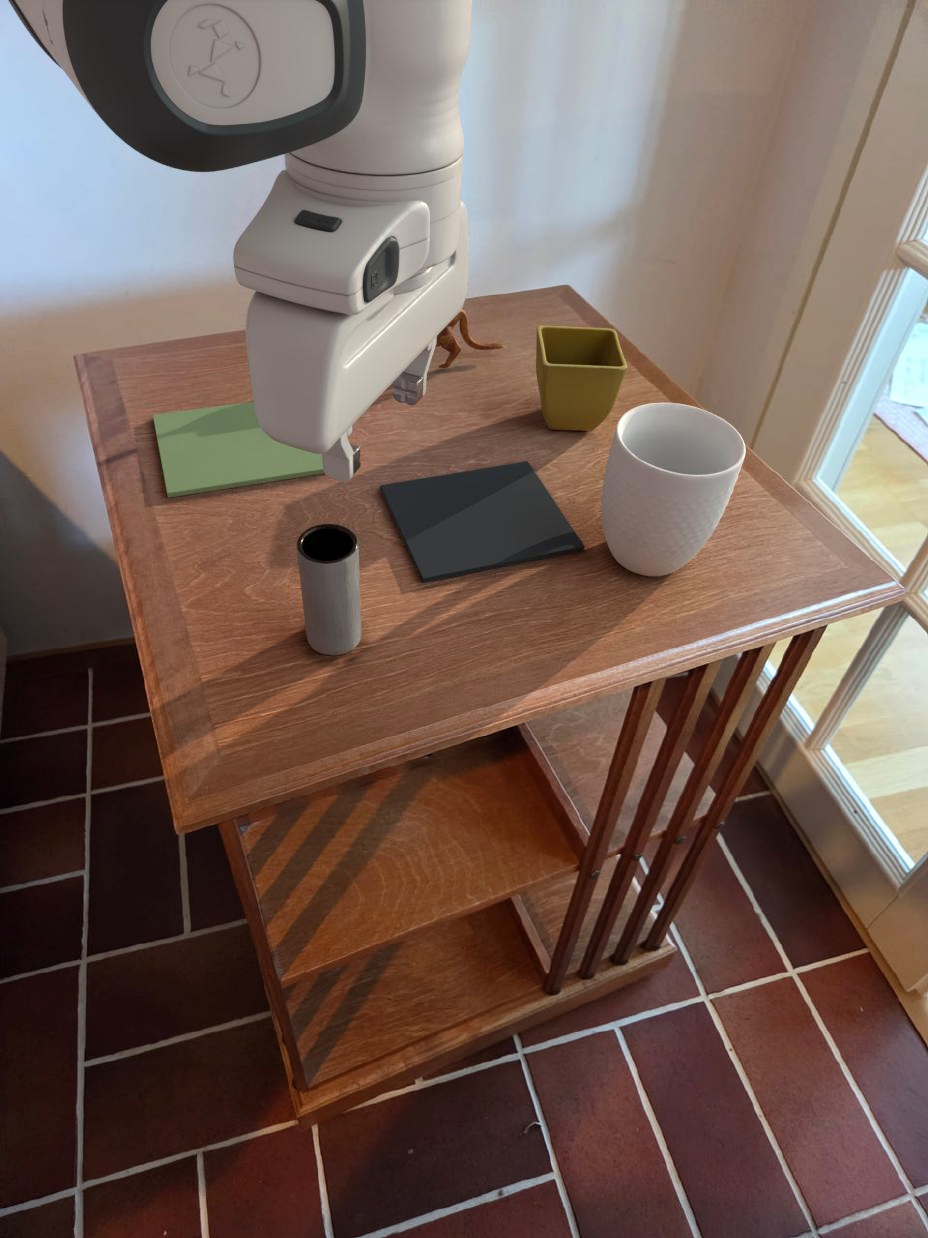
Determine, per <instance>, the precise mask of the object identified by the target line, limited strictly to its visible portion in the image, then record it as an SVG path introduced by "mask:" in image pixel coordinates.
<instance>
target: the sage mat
mask: <svg viewBox="0 0 928 1238" xmlns="http://www.w3.org/2000/svg"><path fill="white" fill-rule="evenodd" d="M152 419H153V425H154V430H155V435H156V441H157V446H158V453H159V457H160V462H161V469H162V474H163V479H164V485H165V492H166V495H167V498H168V499H170V498H177V497H183V496H188V495H195V494H201V493H202V494H203V493H208V492H214V491H221V490H228V489H233V488H240V487H246V486H252V485H258V484H259V485H260V484H266V483H271V482H278V481H285V480H292V479H298V478H305V477H310V476H318V475H322V474H324V471H323V464H322V454H316V453H311V452H308V451H304V450H301V449H297V448H294V447H291V446H288V445H285V444H282V443H279V442H277V441H275V440H273V439H271V438H270V437H269V436H268V435H267V434H266V433H265V432H264V431H263V430H262V429H261V427H260V426H259V423H258V420H257V416H256V412H255V406H254V401H248V402H241V403H240V402H239V403H233V404H225V405H217V406H210V407H203V408H201V407H200V408H194V409H186V410H178V411H172V412H163V413H155V414H152ZM324 475H325V474H324Z"/></svg>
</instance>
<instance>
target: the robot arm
mask: <svg viewBox="0 0 928 1238" xmlns="http://www.w3.org/2000/svg"><path fill="white" fill-rule="evenodd" d="M7 1H8V2H9V4H10V5H11V6H10V7H12V9H13V10H14V12H15V14H16V16H17V17H18V18H19V20H20V21H21V23H22V25H23V26H24V27H25V29H26V31H27V32H28V33H29V35H30V36H31V37H32V38H33V40H34V41H35V42H36V44H37V45H38V46H39V47H40V48H41V50H42V51H43V52H44V53H45V54H46V55H47V56H48V57H49V58H50V60H51V61H52V62H54V63H55V64H56V65H57V66H58V67H59V68H60V69H61V70H62V71H63V72H64V74H65V75H66V76H67V77H68V78H69V80H70V82H71V83H72V84H73V85H74V87H75V88H76V90H77V91H78V92H79V93H80V95H81V96H82V98H83V99H84V100H85V101H86V103H87V104H88V105H89V107H90V108H91V109H92V110H93V112H95V114H96V115H97V116H98V118H99V119H100V120H101V121H102V122H103V123H104V124H105V125H106V126H107V127H108V129H109V130H110V131H111V132H112V133H114V134H115V136H116V137H118V138H119V139H120V140H121V141H122V142H124V144H126V145H127V146H129V147H130V148H132V149H133V150H134V151H135V152H137V153H138V154H140V155H142V156H144V157H145V158H147V159H150V160H152V161H153V162H155V163H158V164H160V165H163V166H166V167H169V168H171V169H176V170H179V171H185V172H192V173H193V172H194V173H214V172H220V171H221V172H222V171H226V170H230V169H236V168H239V167H243V166H247V165H251V164H254V163H258V162H262V161H265V160H269V159H272V158H273V159H274V158H276V157H279V156H283V155H284V167H285V168H284V169H282V170H281V171H280V172H279V173H278V175H277V176H276V178H275V180H274V182H273V185H272V187H271V189H270V191H269V193H268V195H267V197H266V198H265V200H264V202H263V204H262V205H261V207H260V208H259V210H258V211H257V213H256V214H255V215H254V217H253V219H252V220H251V221H250V222H249V224H248V225H247V226H246V228H245V229H244V230H243V232H242V233H241V234H240V236H239V237H238V239H237V240H236V242H235V245H234V247H233V252H232V253H233V254H232V261H233V268H234V274H235V278H236V280H237V283H238V284H239V285H240V286H242V287H244V288H246V289H250V290H252V291H254V292H253V295H252V297H251V298H250V301H249V303H248V307H247V311H246V317H245V345H246V346H245V347H246V357H247V365H248V373H249V374H248V375H249V381H250V387H251V394H252V400H253V401H252V402H254V406H255V412H256V416H257V420H258V423H259V426H260V427H261V429H262V430H263V431H264V432H265V433H266V434H267V435H268V436H269V437H270V438H271V439H273V440H275V441H277V442H279V443H282V444H285V445H288V446H291V447H294V448H297V449H301V450H304V451H308V452H311V453H316V454H322V464H323V471H324V475H325V476H326V477H327V478H329V479H333V480H335V481H339V482H341V483H348V482H349V481H350V480H351V479H352V477H353V476H354V475H355V474H356V473H357V472H358V470H359V469H360V468H361V464H362V462H361V460H360V459H361V446H359V445H356V444H352V443H350V441H349V439H348V437H349V436H350V435H351V434H352V432H353V426H354V424H355V423H356V422H357V421H358V420H359V419H360V418H361V417H362V416H363V414H364V413H366V412H367V411H368V409H369V408H370V407H371V406H372V405H373V404H374V403H375V402H376V401H377V400H378V399H379V398H380V396H382V394H383V393H384V392H385V391H386V390H388V388H389V387H390V386H391V385H392V387H393V390H392V396H393V399H394V400H395V401H396V402H398V403H401V404H406V405H408V406H415V405H417V404H418V403H419V402H420V400H422V398H423V397H424V396H425V394H426V392H427V374H428V373H429V369H430V367H431V362H432V359H433V356H434V352H435V350H436V347H435V346H436V341H437V335H438V334H439V333H440V332H441V331H442V330H443V329H444V328H445V327H446V326H447V325H448V324H449V323H450V322H451V321H452V320H453V319H454V317H455V316H456V315H457V314H458V313H459V312H460V311H461V310H462V309H463V307H464V304H465V301H466V298H467V294H468V289H469V266H470V226H469V214H468V213H469V212H468V209H467V206H466V204H465V203H464V202H463V201H462V190H463V189H462V188H463V187H462V186H463V170H464V155H465V152H464V151H465V138H464V137H465V136H464V131H463V124H462V121H461V120H462V119H461V115H460V103H459V101H460V88H461V87H460V86H461V80H462V76H463V72H464V68H465V66H466V63H467V59H468V56H469V52H470V46H471V37H472V20H473V19H472V18H473V17H472V16H473V0H7Z"/></svg>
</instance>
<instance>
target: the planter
mask: <svg viewBox="0 0 928 1238" xmlns="http://www.w3.org/2000/svg"><path fill="white" fill-rule="evenodd" d="M296 555H297V564H298V565H297V566H298V572H299V573H298V574H299V581H300V590H301V599H302V600H301V601H302V608H303V618H304V626H305V627H304V628H305V634H306V640H307V643H308V645H309V646H310V647H311V649H313V650H314V651H315V652H317V653H319V654H322V655H326V656H340V655H344V654H347V653H349V652H351V651H352V650H354V649H355V648H356V647H357V646H359V644H360V642H361V640H362V606H361V605H362V603H361V582H360V578H361V577H360V557H359V556H360V555H359V540H358V537H357V535H356V534H355V533H354V532H353V531H352V530H351V529H349V528H348V527H347V526H344V525H341V524H336V523H321V524H316V525H313V526H311V527H308V528H306V529H305V530H304V531H303V532H302V533H300V535H299V536H298V538H297V541H296Z"/></svg>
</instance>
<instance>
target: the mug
mask: <svg viewBox="0 0 928 1238" xmlns="http://www.w3.org/2000/svg"><path fill="white" fill-rule="evenodd" d="M746 449H747V448H746V444H745V441H744V439H743V437H742V435H741V433H740V432H739V431H738V430H737V429H736V428H735V426H733V425H732V424H731V423H729V422H728V421H726V419H724V418H722V417H720V416H718V415H716V414H714V413H712V412H710V411H708V410H706V409H702V408H699V407H696V406H693V405H689V404H683V403H677V402H651V403H645V404H642V405H638V406H635V407H633V408H631V409H629V410H627V411H626V412H624V413H623V415H622V416H621V417H620V418H619V419H618V420H617V423H616V425H615V429H614V434H613V437H612V442H611V446H610V449H609V452H608V456H607V457H608V458H607V461H606V465H605V471H604V475H603V483H602V489H601V490H602V491H601V493H602V495H601V509H600V512H601V524H602V532H603V534H604V538H605V542H606V544H607V547H608V549H609V551H610V554H611V555H612V557H613V558H614V559H615V561H616V562H617V563H618V564H619V565H620V566H621V567H623V568H625V569H626V570H628V571H630V572H631V573H634V574H637V575H641V576H646V577H663V576H667V575H670V574H672V573H674V572H677V571H678V570H681V569H682V568H683V567H684V566H685V565H687V564H689V563H690V561H692V560H694V558H695V557H696V556H697V554H699V553H700V552H701V551H702V549H703V547H705V545H706V544H707V543H708V541H709V539H710V538H711V537H712V535H713V534H714V531H715V530H716V528H717V526H718V525H719V524H720V521H721V518H722V517H723V515H724V513H725V511H726V507H727V506H728V505H729V502H730V498H731V495H732V494H733V492H734V489H735V486H736V483H737V481H738V479H739V474H740V471H741V469H742V467H743V464H744V461H745V458H746V453H747V450H746Z"/></svg>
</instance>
